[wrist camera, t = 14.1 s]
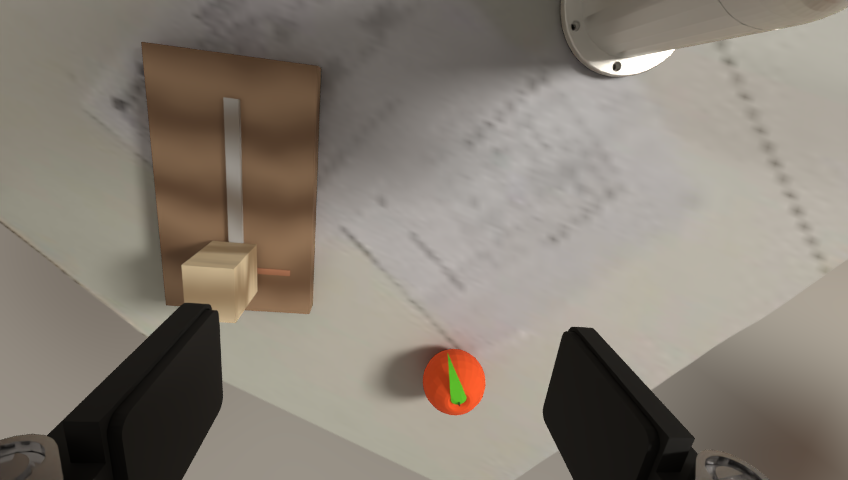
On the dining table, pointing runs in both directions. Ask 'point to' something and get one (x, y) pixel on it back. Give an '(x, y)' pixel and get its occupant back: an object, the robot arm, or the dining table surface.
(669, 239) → the dining table surface
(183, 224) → the board
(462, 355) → the clementine
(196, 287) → the block
